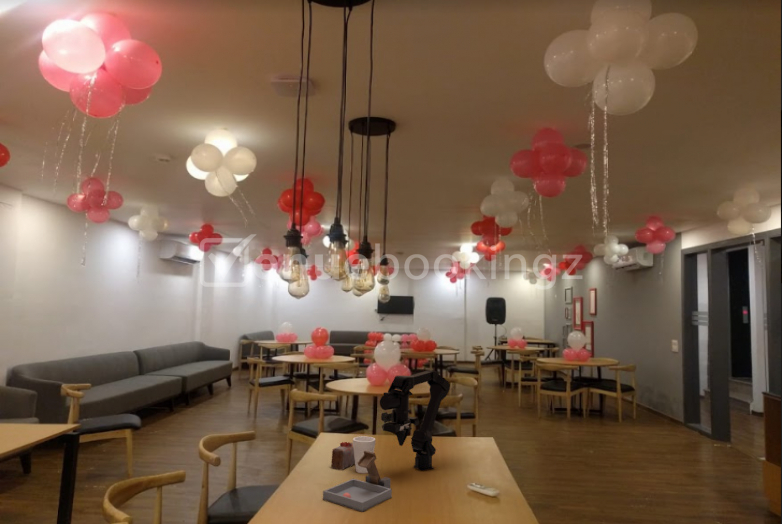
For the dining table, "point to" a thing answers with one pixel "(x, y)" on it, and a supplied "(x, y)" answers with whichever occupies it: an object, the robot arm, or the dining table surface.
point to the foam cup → (362, 450)
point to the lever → (370, 466)
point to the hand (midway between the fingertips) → (401, 445)
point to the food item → (343, 456)
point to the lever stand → (380, 481)
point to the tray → (357, 494)
